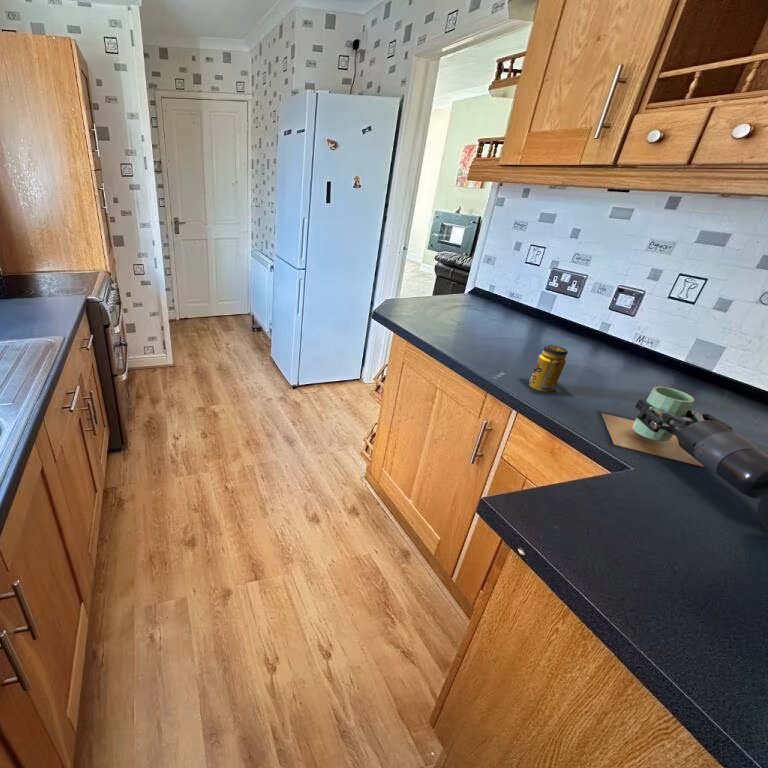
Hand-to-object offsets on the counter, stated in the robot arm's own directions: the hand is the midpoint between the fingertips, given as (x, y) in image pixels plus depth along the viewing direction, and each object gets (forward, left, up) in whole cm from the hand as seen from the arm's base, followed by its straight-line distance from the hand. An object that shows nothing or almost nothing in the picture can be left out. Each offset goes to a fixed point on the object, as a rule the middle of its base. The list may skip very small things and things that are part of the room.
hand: (656, 404), depth 91 cm
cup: (-1, +2, -6) cm, 6 cm away
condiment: (+18, -14, -8) cm, 24 cm away
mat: (-1, +2, -8) cm, 8 cm away
